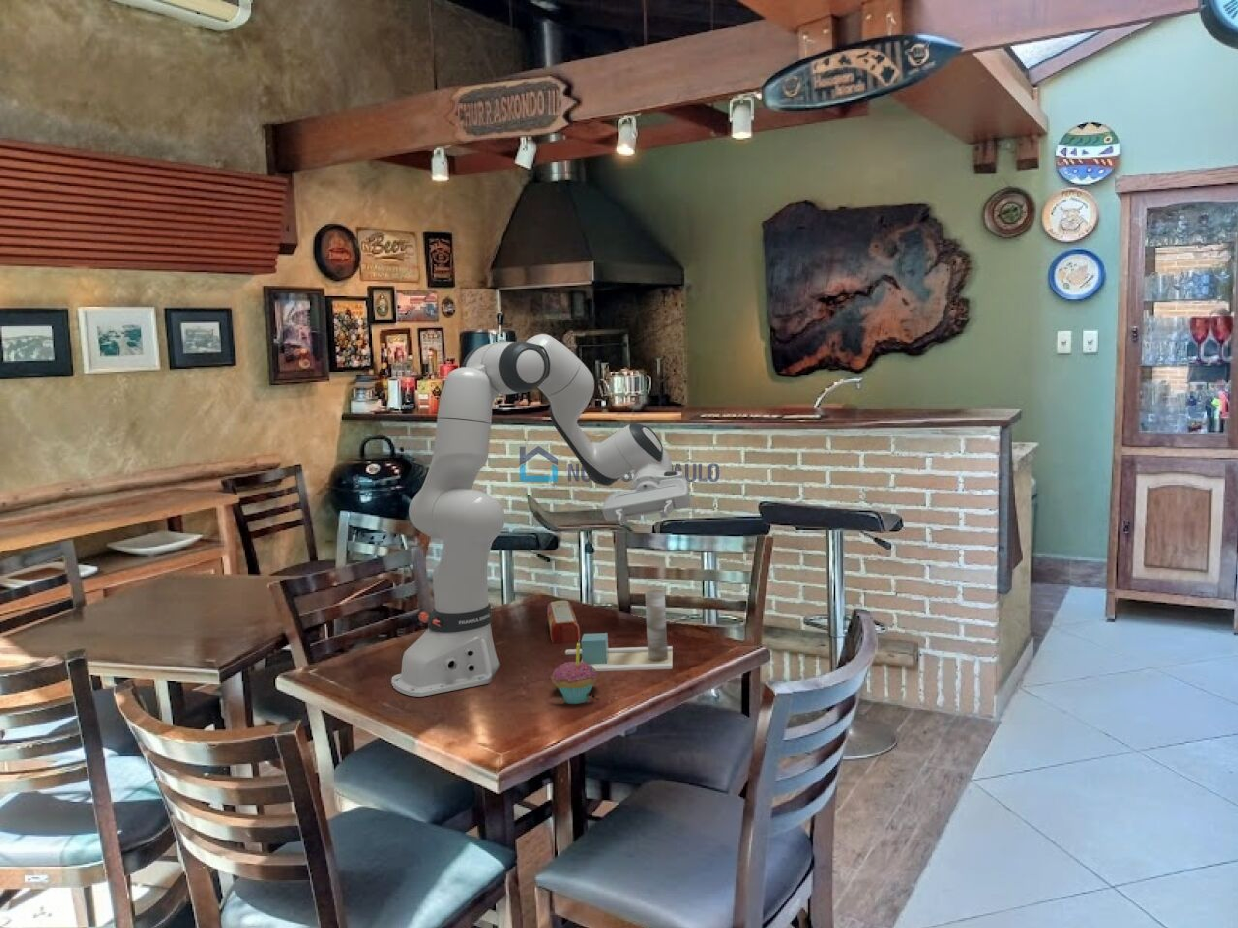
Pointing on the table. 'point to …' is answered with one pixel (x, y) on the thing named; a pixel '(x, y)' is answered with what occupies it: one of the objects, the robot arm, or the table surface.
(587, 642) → the cube
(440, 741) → the table surface
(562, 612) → the snack package
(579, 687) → the cupcake
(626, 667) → the lane
